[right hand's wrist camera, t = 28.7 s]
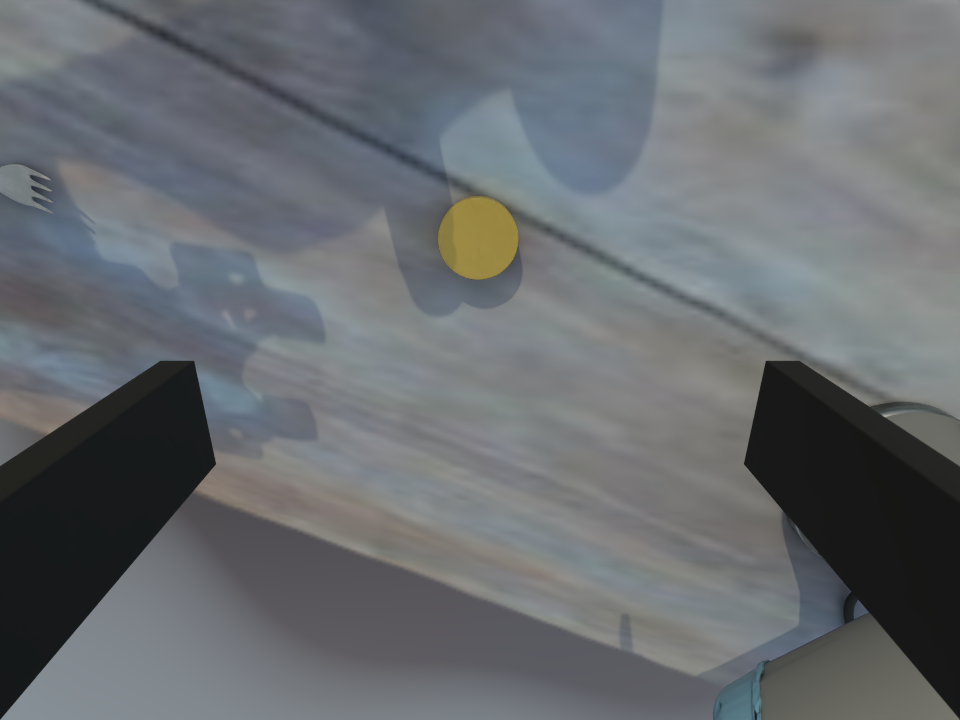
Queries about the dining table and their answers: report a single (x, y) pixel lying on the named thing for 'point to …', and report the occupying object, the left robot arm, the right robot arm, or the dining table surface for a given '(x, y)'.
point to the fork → (22, 185)
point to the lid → (478, 238)
